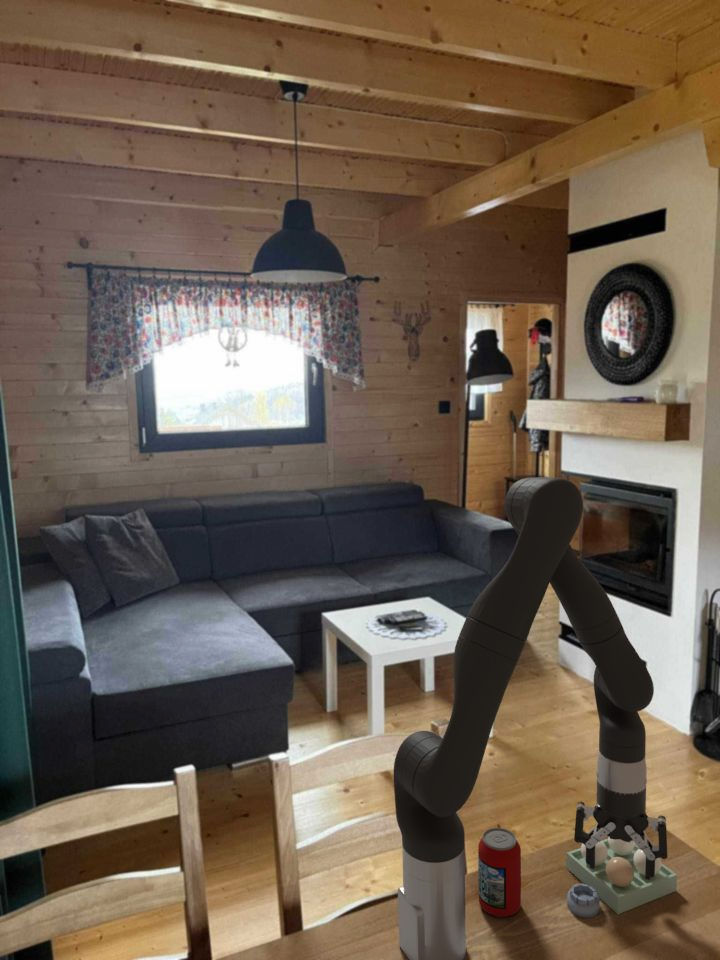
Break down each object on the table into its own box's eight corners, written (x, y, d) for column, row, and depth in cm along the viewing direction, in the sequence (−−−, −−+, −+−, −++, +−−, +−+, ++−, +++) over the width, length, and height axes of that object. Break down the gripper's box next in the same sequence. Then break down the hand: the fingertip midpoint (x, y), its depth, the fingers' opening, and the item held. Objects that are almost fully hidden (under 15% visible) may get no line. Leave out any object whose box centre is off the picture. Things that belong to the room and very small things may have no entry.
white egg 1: (592, 874, 124) (593, 850, 123) (575, 859, 128) (575, 835, 127) (613, 866, 125) (613, 843, 125) (595, 852, 129) (595, 829, 129)
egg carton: (617, 914, 117) (618, 897, 117) (566, 868, 129) (566, 852, 128) (676, 890, 122) (676, 874, 122) (621, 848, 133) (622, 833, 133)
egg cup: (581, 921, 116) (581, 906, 115) (560, 901, 120) (560, 887, 120) (606, 911, 118) (606, 896, 117) (585, 892, 122) (585, 878, 122)
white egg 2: (620, 864, 126) (620, 840, 126) (602, 849, 130) (602, 826, 130) (640, 857, 128) (640, 833, 127) (621, 842, 132) (622, 820, 131)
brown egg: (618, 896, 118) (619, 871, 118) (599, 880, 122) (599, 855, 122) (639, 888, 120) (640, 863, 119) (620, 872, 124) (620, 848, 123)
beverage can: (470, 899, 121) (469, 832, 120) (504, 887, 124) (504, 820, 123) (494, 926, 115) (494, 855, 114) (529, 912, 118) (529, 843, 117)
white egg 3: (646, 885, 121) (647, 860, 120) (627, 869, 125) (627, 845, 124) (667, 877, 122) (667, 853, 122) (647, 862, 126) (647, 838, 126)
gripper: (668, 774, 120) (666, 866, 122) (577, 760, 125) (576, 849, 127) (669, 799, 113) (667, 896, 115) (573, 783, 118) (572, 876, 120)
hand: (619, 871), depth 121 cm, fingers open, 8 cm apart
